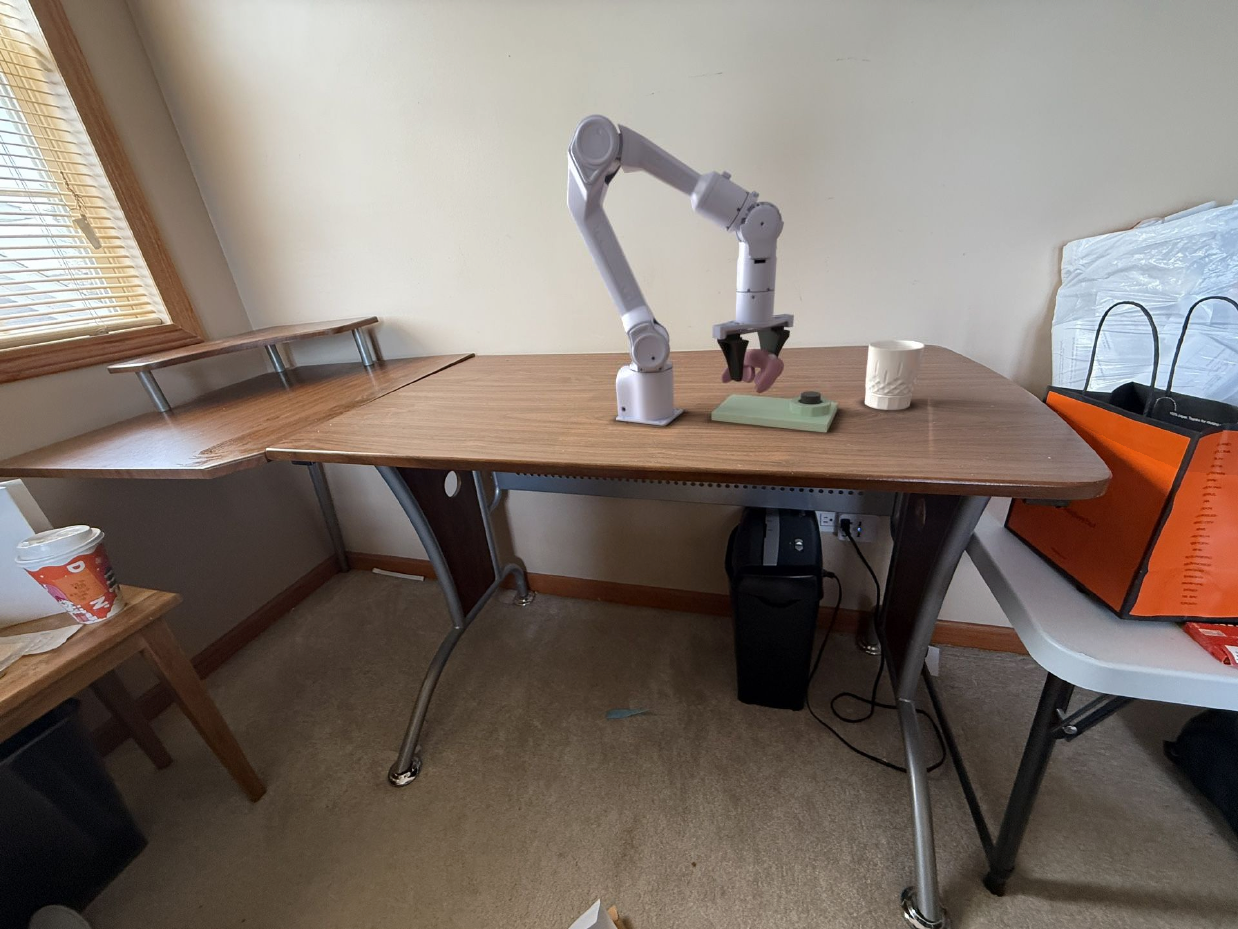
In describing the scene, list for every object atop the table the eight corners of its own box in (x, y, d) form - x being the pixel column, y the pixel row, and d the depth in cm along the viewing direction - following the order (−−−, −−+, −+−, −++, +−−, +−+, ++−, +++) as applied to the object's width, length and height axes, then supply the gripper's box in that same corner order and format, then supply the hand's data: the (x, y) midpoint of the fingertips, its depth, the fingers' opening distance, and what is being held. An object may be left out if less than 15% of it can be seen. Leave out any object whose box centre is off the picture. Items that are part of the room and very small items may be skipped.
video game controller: (776, 399, 77) (793, 357, 75) (757, 392, 74) (774, 348, 73) (734, 387, 85) (749, 349, 83) (716, 380, 82) (731, 340, 81)
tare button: (798, 405, 76) (799, 395, 75) (802, 399, 78) (803, 390, 77) (818, 406, 74) (819, 397, 74) (821, 401, 77) (822, 391, 76)
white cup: (923, 410, 77) (936, 347, 73) (873, 413, 77) (883, 351, 73) (898, 396, 84) (908, 338, 80) (852, 399, 84) (860, 342, 80)
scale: (711, 420, 80) (711, 403, 79) (731, 401, 88) (732, 385, 87) (826, 433, 71) (828, 414, 70) (837, 410, 80) (839, 393, 79)
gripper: (774, 284, 79) (769, 365, 85) (701, 294, 74) (701, 379, 80) (806, 286, 74) (798, 373, 79) (729, 296, 68) (727, 388, 74)
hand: (751, 377), depth 79 cm, fingers closed on video game controller, 6 cm apart
